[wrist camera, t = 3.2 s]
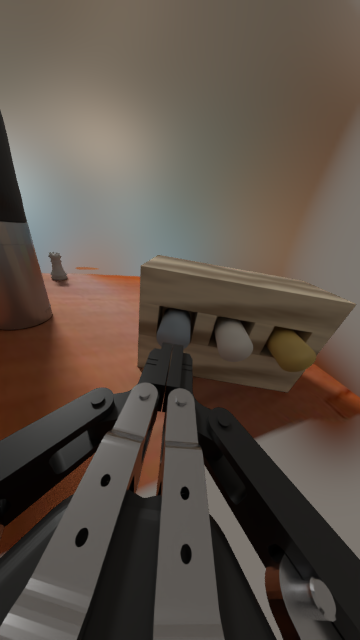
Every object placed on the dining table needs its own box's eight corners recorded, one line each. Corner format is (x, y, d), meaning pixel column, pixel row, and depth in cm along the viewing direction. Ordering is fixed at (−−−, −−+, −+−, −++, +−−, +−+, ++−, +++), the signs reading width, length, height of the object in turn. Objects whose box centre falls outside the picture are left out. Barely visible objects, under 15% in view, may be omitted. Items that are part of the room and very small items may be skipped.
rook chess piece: (51, 276, 53) (44, 251, 49) (67, 276, 55) (62, 252, 51) (51, 280, 50) (45, 254, 46) (68, 280, 52) (63, 255, 49)
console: (287, 392, 26) (356, 304, 18) (137, 366, 25) (140, 265, 18) (263, 352, 34) (303, 280, 27) (151, 332, 34) (158, 254, 26)
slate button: (186, 354, 19) (193, 327, 18) (155, 348, 19) (157, 321, 17) (188, 332, 24) (193, 308, 22) (162, 327, 24) (165, 303, 22)
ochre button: (304, 374, 20) (323, 350, 18) (273, 369, 20) (288, 344, 18) (284, 348, 24) (297, 327, 22) (258, 344, 24) (270, 322, 22)
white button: (245, 364, 20) (258, 338, 18) (214, 358, 20) (223, 332, 18) (236, 340, 24) (245, 317, 22) (210, 336, 24) (217, 312, 22)
